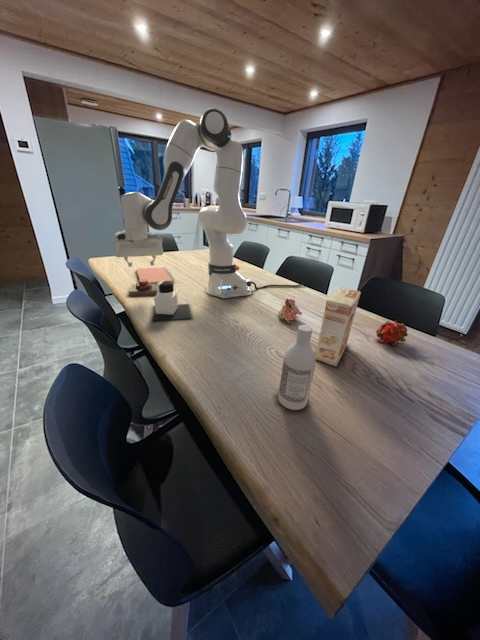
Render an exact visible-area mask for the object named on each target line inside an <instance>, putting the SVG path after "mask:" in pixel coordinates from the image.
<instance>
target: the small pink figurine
mask: <svg viewBox="0 0 480 640" xmlns="http://www.w3.org/2000/svg"><path fill="white" fill-rule="evenodd" d="M297 315H299V316H302V315H303V312H302V311H300V309H299V307H297V306H296V301H295V299H293V298H290V297H289V298H286V299H285V300H284V304H283V305H282V307H281V309H280V310H278V314H277V317H278V318H280V320H285V321H286V322H287V323H288V324H290V320H291V321H294V318H296V317H297Z"/></svg>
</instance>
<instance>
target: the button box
mask: <svg viewBox="0 0 480 640" xmlns="http://www.w3.org/2000/svg"><path fill="white" fill-rule="evenodd" d="M128 293H129V296H130V297H139V296H156V295H157V294H158V290H157V284H151V282H148V285H139V281H137V282H136V283H133V284H131V285H130V288H129V290H128Z"/></svg>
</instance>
